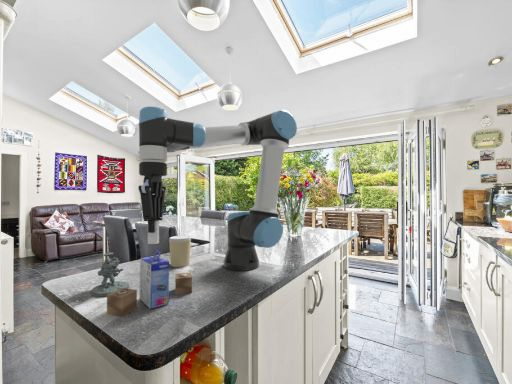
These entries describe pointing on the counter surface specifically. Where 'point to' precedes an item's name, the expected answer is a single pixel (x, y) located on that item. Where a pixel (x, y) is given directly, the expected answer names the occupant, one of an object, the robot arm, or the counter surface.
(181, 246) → the coffee cup
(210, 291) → the counter surface
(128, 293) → the walnut cube
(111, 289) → the figurine
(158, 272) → the ink cartridge box
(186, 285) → the walnut cube
